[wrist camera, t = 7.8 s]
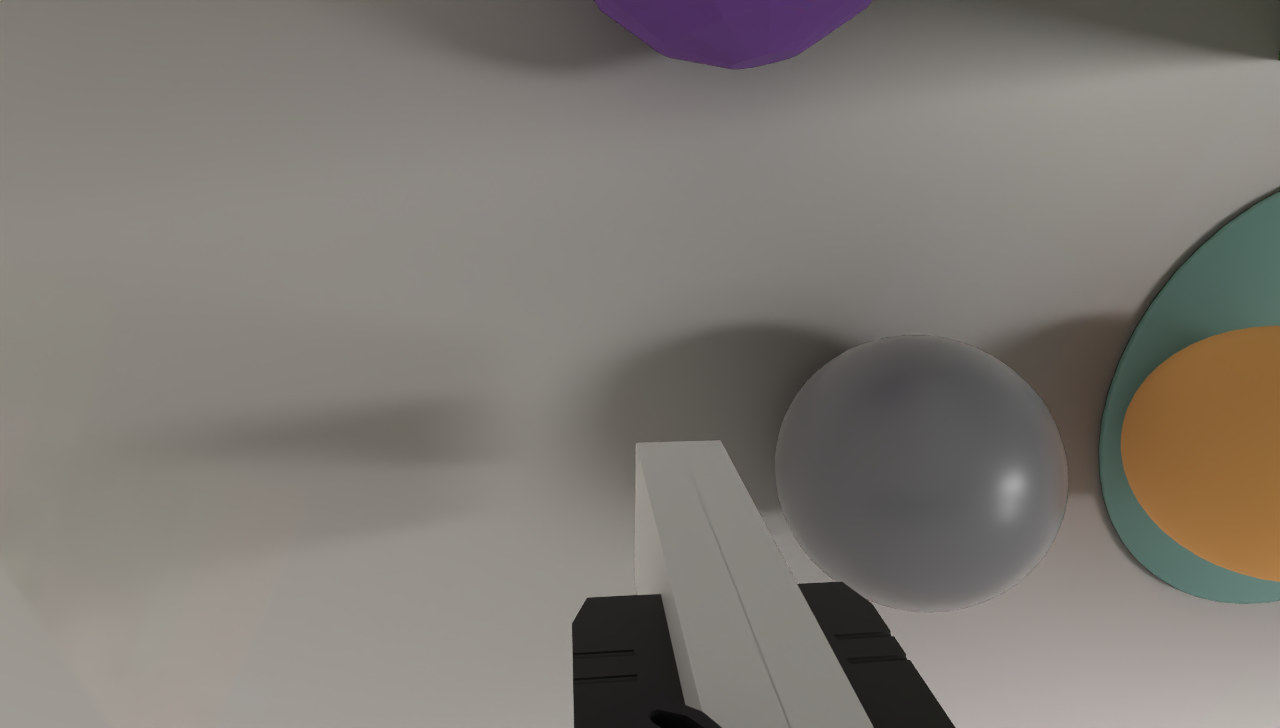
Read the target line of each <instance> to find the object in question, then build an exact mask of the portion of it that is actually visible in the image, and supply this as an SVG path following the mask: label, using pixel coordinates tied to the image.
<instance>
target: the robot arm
mask: <svg viewBox="0 0 1280 728" xmlns="http://www.w3.org/2000/svg"><path fill="white" fill-rule="evenodd" d="M634 579H635V585H636V591H637V595H630V596H612V597H593V598H587V599H586V601H585V602H584V604H583V606H582V608H581V609H580V611H579V613H578V614H577V616H576V618H575V619H574V621H573V623H572V642H573V694H574V728H955V726H954V725H953V723H952V722H951V720H950V719H949V717H948V716H947V714H946V713H945V711H944V710H943V709H942V707H941V706H940V704H939V703H938V701H937V700H936V698H935V697H934V695H933V694H932V692H931V691H930V689H929V688H928V686H927V685H926V683H925V682H924V680H923V679H922V677H921V676H920V674H919V673H918V671H917V670H916V668H915V667H914V665H913V664H912V662H911V661H910V660H907V659H906V654H905V652H904V651H903V649H902V648H901V646H900V645H899V643H898V642H897V640H896V639H895V637H894V636H893V637H891V634H890V630H889V628H888V627H887V625H886V624H885V622H884V621H883V619H882V618H881V616H880V615H879V613H878V612H877V610H876V609H875V607H874V606H873V604H872V603H870V602H869V601H868V600H866V599H865V598H864V597H862V596H861V595H860V594H858V593H857V592H856V591H854V590H853V589H851V588H850V587H849V586H847V585H846V584H845V583H843V582H826V583H807V584H797V583H796V581H795V579H794V577H793V575H792V573H791V571H790V570H789V568H788V566H787V564H786V562H785V560H784V558H783V556H782V555H781V553H780V551H779V549H778V547H777V545H776V543H775V541H774V540H773V538H772V536H771V534H770V532H769V530H768V528H767V526H766V525H765V523H764V521H763V519H762V517H761V515H760V513H759V511H758V510H757V508H756V506H755V504H754V502H753V500H752V498H751V496H750V495H749V493H748V491H747V489H746V487H745V485H744V483H743V481H742V480H741V478H740V476H739V474H738V472H737V470H736V468H735V466H734V465H733V463H732V461H731V459H730V457H729V455H728V453H727V451H726V450H725V448H724V446H723V444H722V442H721V440H709V441H677V442H645V443H636V474H635V568H634Z"/></svg>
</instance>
